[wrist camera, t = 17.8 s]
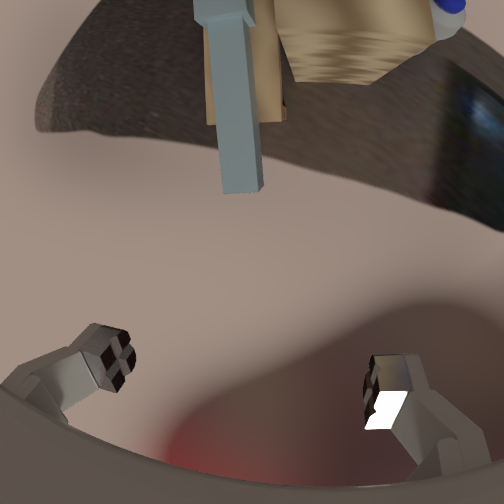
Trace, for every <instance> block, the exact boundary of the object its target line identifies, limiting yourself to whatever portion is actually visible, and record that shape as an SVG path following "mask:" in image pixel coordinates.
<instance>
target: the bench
mask: <svg viewBox="0 0 504 504" xmlns="http://www.w3.org/2000/svg"><path fill="white" fill-rule="evenodd" d="M253 1H254V10H255V19H256V26H252V27H249V29H250V38H251V48H252V58H253V68H254V78H255V89H256V100H257V111H258V122H283V119H287V116H286V107H285V106H283V103H282V78H281V57H280V38H279V34H278V31H277V29H276V23H275V8H274V0H253ZM204 64H205V92H206V114H207V125H216V118H215V107H214V97H213V86H212V75H211V64H210V52H209V40H208V30H206V29H205V28H204Z"/></svg>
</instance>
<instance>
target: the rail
mask: <svg viewBox="0 0 504 504" xmlns="http://www.w3.org/2000/svg"><path fill="white" fill-rule="evenodd" d="M193 4H194V20H195V21H196V22H198V23H199V24H200V25H201V26H203V27H204V28H205V29H206V30H208V40H209V52H210V64H211V75H212V86H213V97H214V107H215V118H216V128H217V138H218V147H219V157H220V166H221V175H222V184H223V193H224V194H229V193H230V194H231V193H250V192H259V191H260V189H261V188H262V187H263V186H264V182H263V170H262V157H261V145H260V133H259V122H258V111H257V100H256V89H255V78H254V68H253V58H252V48H251V38H250V29H249V27H252V26H256V19H255V10H254V1H253V0H193Z"/></svg>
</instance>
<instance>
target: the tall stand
mask: <svg viewBox="0 0 504 504" xmlns="http://www.w3.org/2000/svg"><path fill="white" fill-rule="evenodd" d="M274 8H275V23H276V29H277V31H278V34H279V37H280V39H281V42H282V45H283V47H284V50H285V53H286V56H287V59H288V61H289V64H290V67H291V70H292V73H293V76H294V79H295V82H332V83H350V84H363V85H370V84H372V83H373V82H374V81H376V80H377V79H379V78H380V77H382V76H383V75H385V74H386V73H388V72H389V71H391V70H392V69H394V68H395V67H397V66H398V65H400V64H401V63H403V62H404V61H406V60H407V59H409V58H410V57H412V56H413V55H415V54H417V53H418V52H420V51H421V50H423V49H424V48H426V47H428V46H429V45H431V44H432V43H434V42H436V38H435V31H434V24H433V18H432V13H431V7H430V2H429V0H274Z"/></svg>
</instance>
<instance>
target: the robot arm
mask: <svg viewBox="0 0 504 504" xmlns="http://www.w3.org/2000/svg"><path fill="white" fill-rule="evenodd" d="M130 340H131V338H130V336H129V333H128V332H127V331H125V330H122V329H118V328H114V327H110V326H106V325H100V324H96V323H92V324H90V325H89V326H88V327H87V328H86V329H85V330H84V331H83V332H82V333H81V334H80V335H79V336H78V337H77V338H76V339H75V340H74V341H73V343H72V344H71V345H70V346H69V347H63V348H60V349H58V350H55V351H53V352H51V353H48V354H46V355H43V356H41V357H38V358H36V359H33V360H31V361H28V362H26V363H23V364H21V365H19V366H17V368H16V369H15V370H14V371H13V372H12V373H11V374H10V375H9V376H8V377H7V378H6V379H5V380H4V381H3V383H1V384H0V504H504V459H502V460H499V461H496V462H493V463H492V462H491V459H490V455H489V451H488V448H487V444H486V441H485V437H484V434H483V431H482V430H481V429H480V428H479V427H478V426H477V425H475V424H474V423H473V422H472V421H471V420H470V419H468V418H467V417H466V416H465V415H463V414H462V413H461V412H460V411H459V410H458V409H456V408H455V407H454V406H453V405H452V404H450V403H449V402H448V401H447V400H446V399H445V398H443V397H442V396H441V395H440V394H439V393H437V392H436V391H435V390H430V388H429V385H428V382H427V379H426V376H425V373H424V370H423V366H422V363H421V361H420V358H419V355H418V354H417V353H408V354H407V353H406V354H378V355H377V354H376V355H375V354H372V355H371V357H370V360H369V371H368V372H367V373H366V374H365V378H364V382H363V402H364V403H365V404H366V408H365V411H364V420H365V429H378V428H379V429H381V428H391V431H392V432H393V433H394V435H395V436H396V437H397V438H398V440H399V441H400V442H401V444H402V445H403V446H404V447H405V449H406V450H407V451H408V453H409V454H410V455H411V457H412V458H413V459H414V460H415V462H416V463H417V464H418V467H417V468H416V469H415V470H414V472H413V473H412V474H411V475H410V476H409V477H408V478H407V480H406V482H404V483H396V484H386V485H374V486H358V487H308V486H291V485H279V484H268V483H261V482H252V481H246V480H240V479H234V478H228V477H223V476H217V475H212V474H208V473H203V472H199V471H195V470H190V469H187V468H183V467H178V466H175V465H172V464H168V463H165V462H161V461H158V460H155V459H152V458H149V457H145V456H143V455H140V454H137V453H133V452H131V451H128V450H126V449H123V448H120V447H118V446H115V445H113V444H110V443H108V442H105V441H103V440H101V439H98V438H96V437H94V436H91V435H89V434H87V433H85V432H82V431H80V430H78V429H76V428H74V427H72V426H70V425H68V420H67V418H66V417H65V415H64V414H63V413H62V412H63V411H65V410H66V409H68V408H69V407H71V406H73V405H74V404H76V403H77V402H79V401H81V400H82V399H84V398H85V397H87V396H88V395H90V394H92V393H93V392H95V391H97V390H98V389H99V388H101V389H104V390H107V391H111V392H114V393H118V391H119V390H120V388H121V387H122V385H123V384H124V382H125V376H126V375H127V374H129V373H131V372H132V370H133V369H134V367H135V363H136V353H135V350H134V348H133V347H132V346H131V345H130V344H129V342H130Z"/></svg>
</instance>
